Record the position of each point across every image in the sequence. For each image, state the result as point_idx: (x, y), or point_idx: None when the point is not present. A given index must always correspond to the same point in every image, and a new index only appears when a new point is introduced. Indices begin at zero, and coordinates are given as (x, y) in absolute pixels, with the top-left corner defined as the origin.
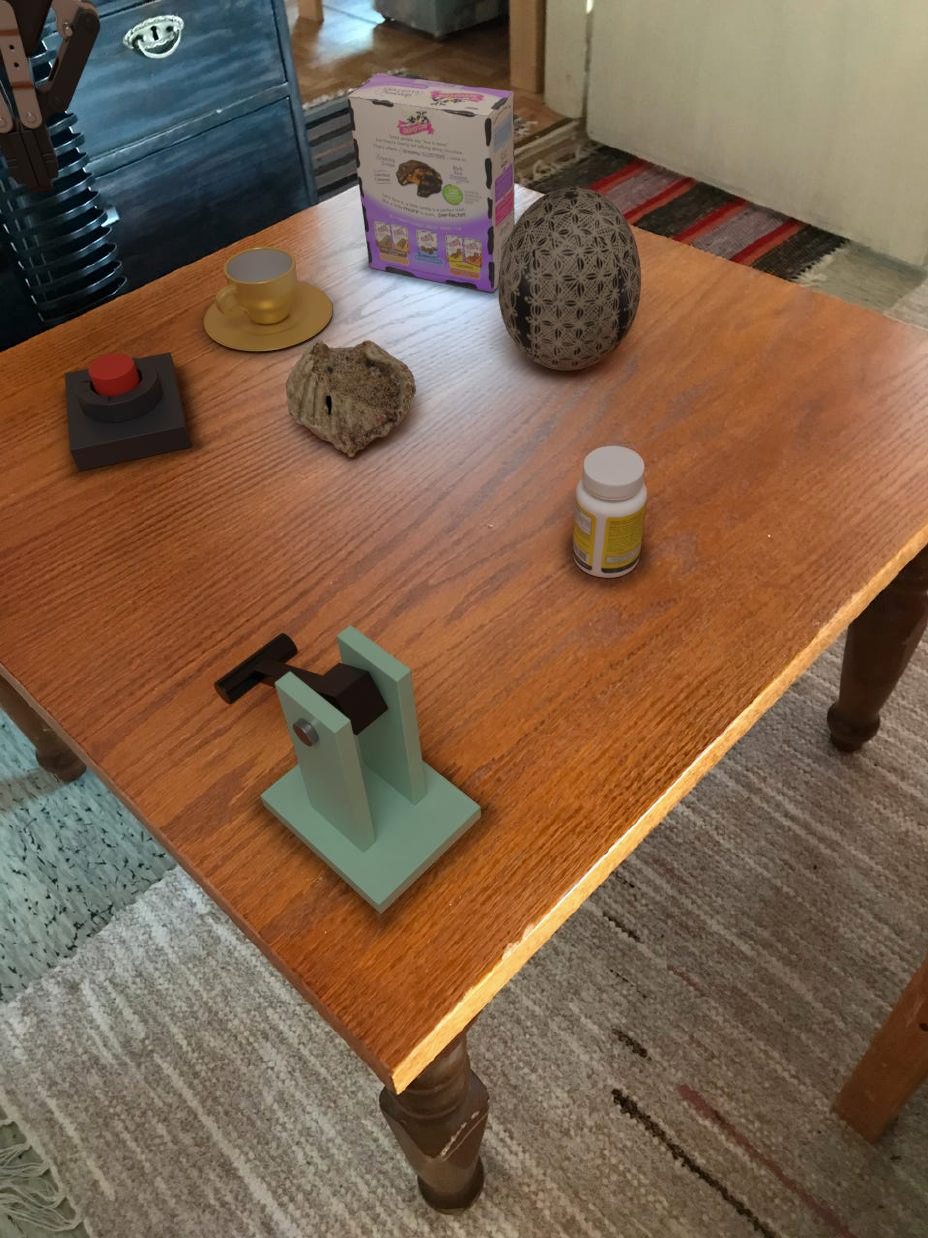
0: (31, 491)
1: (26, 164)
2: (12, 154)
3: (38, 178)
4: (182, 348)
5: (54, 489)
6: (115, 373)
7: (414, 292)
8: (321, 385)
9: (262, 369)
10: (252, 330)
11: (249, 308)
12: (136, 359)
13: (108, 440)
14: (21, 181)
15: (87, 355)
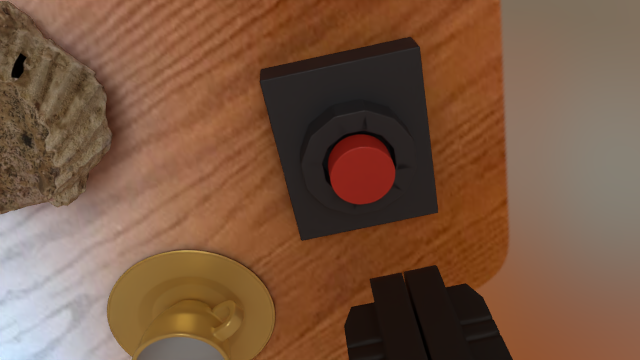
0: (472, 3)
1: (433, 317)
2: (477, 349)
3: (403, 290)
4: (298, 268)
5: (441, 3)
6: (354, 157)
7: (7, 346)
8: (27, 98)
9: (186, 219)
10: (210, 291)
11: (203, 311)
12: (335, 206)
13: (366, 61)
14: (455, 289)
15: (417, 266)
